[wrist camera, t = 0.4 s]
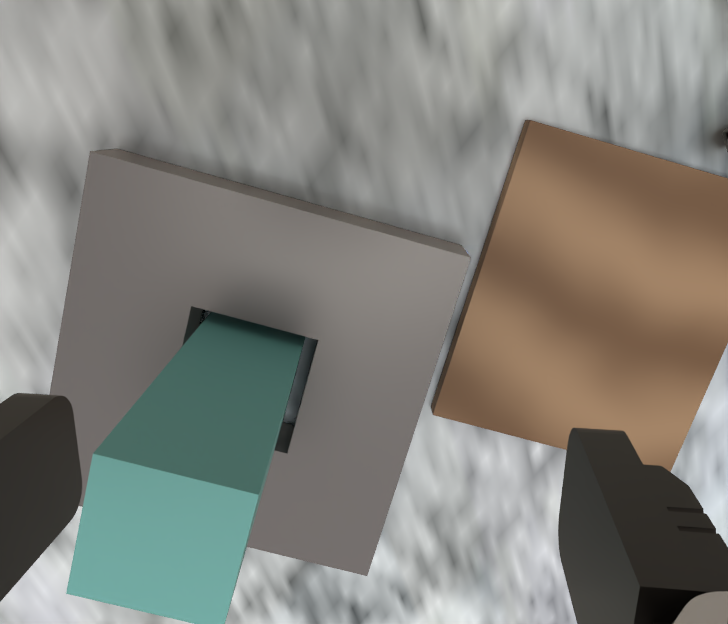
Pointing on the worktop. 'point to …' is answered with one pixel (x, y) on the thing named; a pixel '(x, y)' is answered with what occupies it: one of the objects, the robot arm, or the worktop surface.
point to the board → (593, 298)
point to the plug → (186, 475)
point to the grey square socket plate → (269, 308)
